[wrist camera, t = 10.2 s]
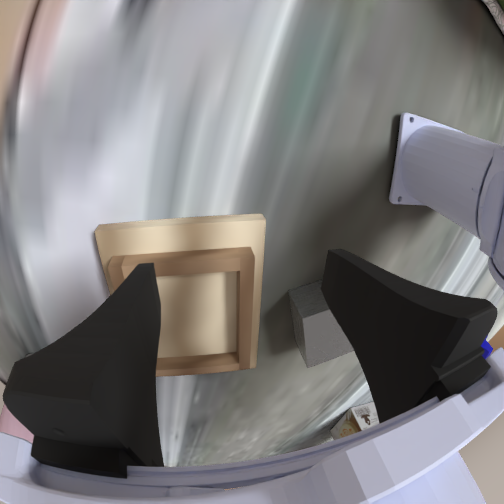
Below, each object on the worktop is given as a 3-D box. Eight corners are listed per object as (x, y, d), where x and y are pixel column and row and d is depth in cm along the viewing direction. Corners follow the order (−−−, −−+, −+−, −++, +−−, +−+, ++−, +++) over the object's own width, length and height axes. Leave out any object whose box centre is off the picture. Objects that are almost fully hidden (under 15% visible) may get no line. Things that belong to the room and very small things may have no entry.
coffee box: (354, 423, 46) (384, 484, 33) (328, 430, 45) (357, 496, 31) (376, 399, 42) (413, 466, 29) (349, 407, 41) (385, 481, 27)
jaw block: (338, 272, 25) (359, 298, 22) (338, 324, 29) (354, 350, 25) (287, 289, 25) (302, 318, 21) (294, 339, 28) (307, 367, 25)
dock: (261, 213, 20) (271, 228, 18) (253, 359, 28) (259, 379, 26) (99, 224, 18) (88, 241, 16) (140, 368, 26) (139, 388, 23)
